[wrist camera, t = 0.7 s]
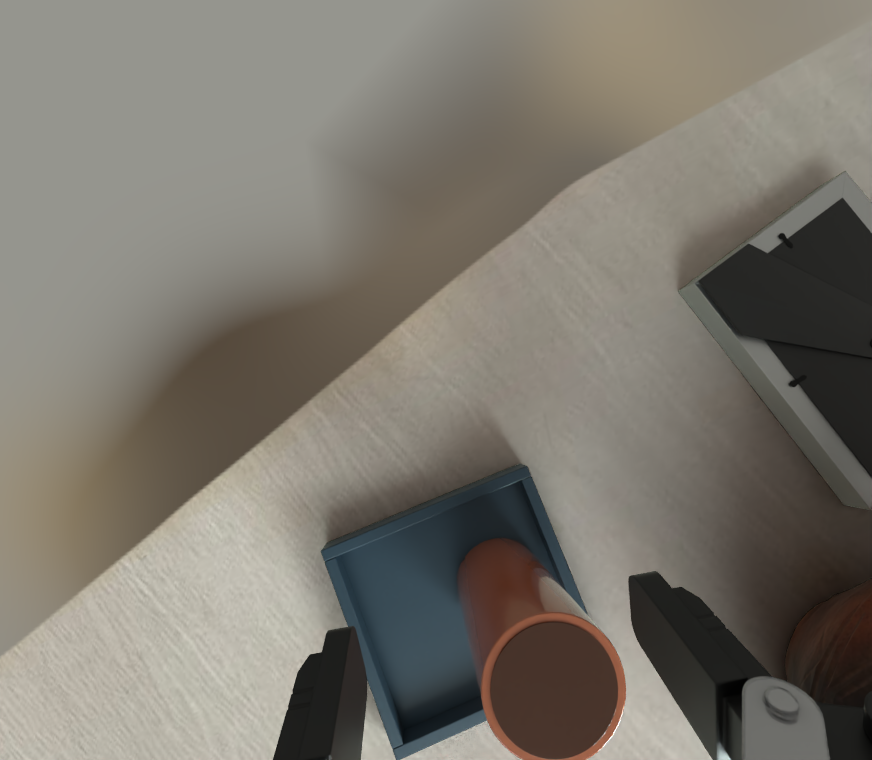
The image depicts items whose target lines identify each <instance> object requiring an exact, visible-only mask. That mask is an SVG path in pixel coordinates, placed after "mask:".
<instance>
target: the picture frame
mask: <svg viewBox="0 0 872 760" xmlns="http://www.w3.org/2000/svg"><path fill="white" fill-rule="evenodd" d="M678 292H679V293H680V294H681V296H682V297H683V298H684V300H685V301H686V302H687V303H688V305H689V306H690V307H691V309H692V310H693V311H694V312H695V314H696V315H697V316H698V318H699V319H700V320H701V321H702V323H703V324H704V325H705V327H706V328H707V329H708V331H709V332H710V333H711V334H712V336H713V337H714V338H715V340H716V341H717V342H718V343H719V345H720V346H721V347H722V349H723V350H724V351H725V352H726V354H727V355H728V356H729V358H730V359H731V360H732V361H733V363H734V364H735V365H736V367H737V368H738V369H739V370H740V372H741V373H742V374H743V376H744V377H745V378H746V379H747V381H748V382H749V383H750V385H751V386H752V387H753V388H754V390H755V391H756V392H757V394H758V395H759V396H760V398H761V399H762V400H763V401H764V403H765V404H766V405H767V407H768V408H769V409H770V410H771V412H772V413H773V414H774V416H775V417H776V418H777V419H778V421H779V422H780V423H781V425H782V426H783V427H784V428H785V430H786V431H787V432H788V434H789V435H790V436H791V437H792V439H793V440H794V441H795V443H796V444H797V445H798V446H799V448H800V449H801V450H802V452H803V453H804V454H805V455H806V457H807V458H808V459H809V461H810V462H811V463H812V465H813V466H814V467H815V468H816V470H817V471H818V472H819V474H820V475H821V476H822V477H823V479H824V480H825V481H826V483H827V484H828V485H829V486H830V488H831V489H832V490H833V492H834V493H835V494H836V495H837V497H838V498H839V499H840V501H841V502H842V503H843V504H844V505H847V506H852V507H857V508H862V509H868V510H871V509H872V203H871V201H870V200H869V199H868V198H867V197H866V195H865V194H864V193H863V192H862V190H861V189H860V188H859V187H858V186H857V184H856V183H855V182H854V181H853V180H852V178H851V177H850V176H849V175H848V173H847V172H846V171H845V172H843V173H841V174H839V175H838V176H836V177H834V178H833V179H831V180H829V181H828V182H826V183H824V184H823V185H821V186H820V187H819V188H817V189H816V190H815V191H813V192H812V193H810V194H809V195H808V196H806V197H805V198H804V199H802V200H801V201H800V202H798V203H797V204H796V205H794V206H793V207H791V208H790V209H789V210H787V211H786V212H785V213H783V214H782V215H781V216H779V217H778V218H777V219H775V220H774V221H772V222H771V223H770V224H768V225H767V226H766V227H764V228H763V229H762V230H760V231H759V232H758V233H756V234H755V235H753V236H752V237H751V238H749V239H748V240H747V241H745V242H744V243H743V244H741V245H740V246H739V247H737V248H736V249H734V250H733V251H732V252H730V253H729V254H728V255H726V256H725V257H724V258H722V259H721V260H720V261H718V262H717V263H715V264H714V265H713V266H711V267H710V268H709V269H707V270H706V271H705V272H703V273H702V274H701V275H699V276H698V277H696V278H695V279H694V280H692V281H691V282H690V283H688V284H687V285H686V286H684V287H683V288H682V289H680V290H679V291H678Z"/></svg>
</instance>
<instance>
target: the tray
mask: <svg viewBox="0 0 872 760" xmlns="http://www.w3.org/2000/svg"><path fill="white" fill-rule="evenodd" d="M495 538H506V539H511V540H514V541H517V542H519V543H521V544H523V545H524V546H526V547H527V548H528V549H529V550H530V551H531V552H532V553H533V554H534V555H535V556H536V557H537V558H538V560H539V561H540V562H541V563H542V564H543V565H544V566H545V567H546V569H547V570H548V571H549V572H550V573H551V574H552V575H553V577H554V578H555V579H556V580H557V581H558V582H559V583H560V585H561V586H562V587H563V588H564V589H565V590H566V591H567V592H568V594H569V595H570V596H571V597H572V598H573V599H574V600H575V602H576V603H577V604H578V605H579V606H580V607H581V608H582V610H583V611H584V612H585V613H586V614H587V611H586V609H585V606H584V604H583V601H582V599H581V597H580V594H579V592H578V589H577V587H576V584H575V582H574V579H573V577H572V574H571V572H570V570H569V567H568V565H567V562H566V560H565V557H564V555H563V552H562V550H561V548H560V545H559V543H558V540H557V538H556V535H555V533H554V530H553V528H552V526H551V523H550V521H549V518H548V516H547V513H546V511H545V508H544V506H543V503H542V501H541V499H540V496H539V494H538V491H537V489H536V486H535V484H534V481H533V479H532V477H531V474H530V472H529V469H528V467H527V466H525V465H523V464H518V465H515V466H513V467H510V468H508V469H505V470H503V471H501V472H498V473H496V474H493V475H491V476H488V477H486V478H483V479H481V480H479V481H476V482H474V483H471V484H469V485H466V486H464V487H462V488H459V489H457V490H454V491H452V492H449V493H447V494H445V495H442V496H440V497H437V498H435V499H432V500H430V501H428V502H425V503H423V504H420V505H418V506H415V507H413V508H410V509H408V510H406V511H403V512H401V513H398V514H396V515H393V516H391V517H389V518H386V519H384V520H381V521H379V522H376V523H374V524H372V525H369V526H367V527H364V528H362V529H359V530H357V531H354V532H352V533H350V534H347V535H345V536H342V537H340V538H337V539H335V540H333V541H330V542H328V543H327V544H326V545H325V546H324V548H323V549H322V550H321V553H322V556H323V559H324V561H325V564H326V567H327V570H328V573H329V575H330V578H331V581H332V584H333V586H334V589H335V592H336V595H337V598H338V600H339V603H340V606H341V609H342V611H343V614H344V617H345V620H346V622H347V625H348V627H350V626H354V627H355V629H356V632H357V636H358V640H359V644H360V648H361V652H362V656H363V660H364V665H365V669H366V675H367V680H368V683H369V686H370V689H371V691H372V694H373V697H374V700H375V702H376V705H377V708H378V711H379V713H380V716H381V719H382V722H383V724H384V727H385V730H386V733H387V735H388V738H389V741H390V744H391V746H392V748H393V752H394V755H395V758H396V760H400V759H402V758H405V757H407V756H409V755H411V754H414V753H416V752H418V751H420V750H422V749H425V748H427V747H429V746H431V745H433V744H436V743H438V742H440V741H442V740H444V739H447V738H449V737H451V736H453V735H456V734H458V733H460V732H462V731H464V730H467V729H469V728H471V727H473V726H475V725H478V724H480V723H482V722H484V721H486V720H487V719H486V716H485V713H484V710H483V706H482V701H481V697H480V692H479V688H478V683H477V679H476V674H475V670H474V665H473V661H472V656H471V652H470V647H469V643H468V638H467V634H466V629H465V625H464V620H463V616H462V611H461V607H460V602H459V598H458V593H457V575H458V571H459V568H460V565H461V563H462V561H463V559H464V558H465V556H466V555H467V554H468V553H469V551H470V550H472V549H473V548H474V547H475V546H477V545H478V544H480V543H482V542H484V541H487V540H490V539H495ZM587 615H588V614H587Z"/></svg>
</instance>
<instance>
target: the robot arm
mask: <svg viewBox="0 0 872 760" xmlns="http://www.w3.org/2000/svg"><path fill="white" fill-rule="evenodd" d="M629 595H630V609H631V621H632V626H633V629H634V633H635V635H636V638H637V640H638V642H639V644H640V646H641V647H642V649H643V650H644V652H645V654H646V655H647V657H648V658H649V660H650V661H651V663H652V665H653V666H654V668H655V669H656V671H657V672H658V674H659V676H660V677H661V679H662V680H663V682H664V684H665V685H666V687H667V688H668V690H669V691H670V693H671V695H672V696H673V698H674V699H675V701H676V702H677V704H678V706H679V707H680V709H681V710H682V712H683V714H684V715H685V717H686V718H687V720H688V721H689V723H690V725H691V726H692V728H693V729H694V731H695V732H696V734H697V736H698V737H699V739H700V740H701V742H702V743H703V745H704V747H705V748H706V750H707V751H708V753H709V755H710V756H711V758H712V759H713V760H872V691H871V692H869V693H868V694H867V695H866V697H865V700H864V708H862V707H853V706H844V705H836V704H827V703H821V702H817V701H814V700H813V699H812V698H811V697H810V696H809V695H808V694H807V693H805V692H804V691H803V690H801V689H800V688H798V687H797V686H795V685H793V684H791V683H789V682H787V681H784V680H781V679H778V678H774V677H772V676H771V675H770V674H769V673H768V672H767V671H766V670H765V668H764V667H763V666H762V665H761V664H760V663H759V662H758V661H757V660H756V659H755V658H754V656H753V655H752V654H751V653H750V652H749V651H748V650H747V649H746V648H745V647H744V646H743V644H742V643H741V642H740V641H739V640H738V639H737V638H736V637H735V636H734V635H733V634H732V632H731V631H730V630H729V629H726V627H725V625H724V624H723V623H722V622H721V620H720V619H719V618H718V617H717V616H715V615H714V613H713V612H712V611H711V610H710V608H709V607H708V606H707V605H706V604H705V603H704V602H703V601H702V600H701V599H700V598H699V597H697V596H696V595H694V594H692V593H691V592H689V591H687V590H686V589H684V588H683V587H677V588H671V587H670V585H669V584H668V583H667V582H666V581H665V580H664V578H663V577H662V576H661V575H660V574H659V573H658V572H656V571H653V572H647V573H642V574H637V575H631V576H630V577H629ZM366 701H367V675H366V669H365V665H364V660H363V656H362V652H361V648H360V644H359V640H358V636H357V632H356V629H355V627H354V626H350V627H344V628H339V629H334V630H329V631H327V633H326V637H325V641H324V646H323V650H322V652H321V653H316V654H311V655H309V657H308V658H307V660H306V661H305V662H304V664H303V665H302V667H301V668H300V670H299V671H298V673H297V677H296V681H295V684H294V688H293V694H292V695H291V698H290V702H289V705H288V710H287V712H286V716H285V719H284V723H283V726H282V730H281V733H280V737H279V740H278V744H277V747H276V751H275V755H274V758H273V760H361V750H362V740H363V730H364V720H365V711H366Z"/></svg>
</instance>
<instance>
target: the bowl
mask: <svg viewBox="0 0 872 760" xmlns="http://www.w3.org/2000/svg"><path fill="white" fill-rule="evenodd" d="M785 671H786V676H787V682H789V683H791V684H793V685H795V686H797V687H798V688H800V689H801V690H803V691H804V692H805V693H807V694H808V695H809V696H810V697H811V698H812V699H813V700H814V701H817V702H821V703H827V704H836V705H844V706H853V707H862V708H864V700H865V697H866V695H867V694H868V693H869V692H871V691H872V578H871V579H870V580H868V581H866V582H864V583H862V584H860V585H858V586H856V587H854V588H852V589H850V590H848V591H845V592H842V593H839V594H837V595H834V596H833V597H831V598H830V599H829V600H828V601H826V602H822V603H820V604H818V605H817V606H815V607H814V608H813V609H811V610H810V611H808V612H807V614H806V615H805V616H804V617H803V618H802V620H801V621H800V622H799V623H798V625H797V627H796V629H795V631H794V633H793V635H792V637H791V640H790V643H789V646H788V650H787V653H786V656H785Z"/></svg>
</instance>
